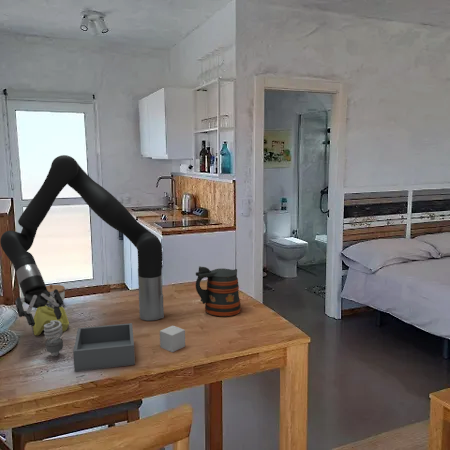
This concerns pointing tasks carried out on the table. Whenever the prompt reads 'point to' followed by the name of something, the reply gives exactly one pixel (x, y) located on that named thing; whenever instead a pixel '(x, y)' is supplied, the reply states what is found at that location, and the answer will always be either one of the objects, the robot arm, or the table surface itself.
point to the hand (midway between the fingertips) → (46, 321)
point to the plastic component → (48, 319)
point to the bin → (104, 347)
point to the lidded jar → (60, 288)
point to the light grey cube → (172, 338)
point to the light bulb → (54, 343)
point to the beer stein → (219, 291)
